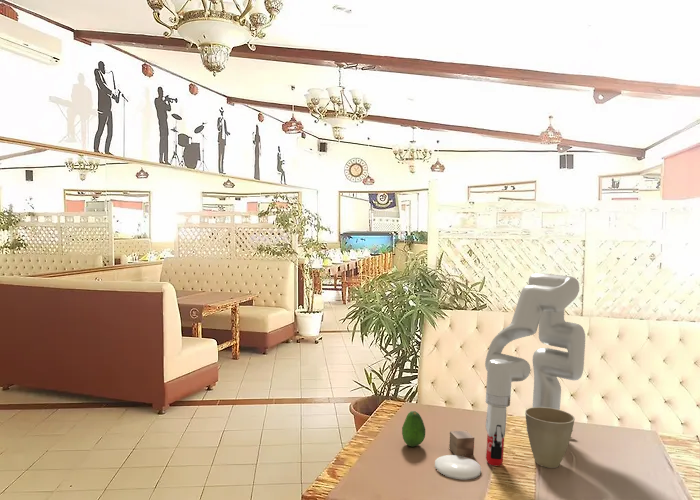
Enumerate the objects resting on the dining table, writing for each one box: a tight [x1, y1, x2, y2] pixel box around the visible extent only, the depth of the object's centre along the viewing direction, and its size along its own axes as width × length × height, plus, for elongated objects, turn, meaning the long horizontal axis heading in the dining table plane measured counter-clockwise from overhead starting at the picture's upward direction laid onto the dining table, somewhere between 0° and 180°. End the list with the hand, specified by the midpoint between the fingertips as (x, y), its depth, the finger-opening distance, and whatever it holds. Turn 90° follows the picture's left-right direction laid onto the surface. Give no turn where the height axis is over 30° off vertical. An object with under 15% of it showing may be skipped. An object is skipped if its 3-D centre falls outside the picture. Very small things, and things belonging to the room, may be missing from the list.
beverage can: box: [485, 433, 505, 467], centre depth 170 cm, size 5×5×12 cm
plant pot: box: [524, 406, 576, 469], centre depth 172 cm, size 15×15×16 cm
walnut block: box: [448, 430, 475, 457], centre depth 178 cm, size 6×6×6 cm
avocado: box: [401, 410, 426, 447], centre depth 181 cm, size 8×8×12 cm
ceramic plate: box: [434, 454, 482, 481], centre depth 165 cm, size 14×14×1 cm
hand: (494, 454), depth 170 cm, fingers closed on beverage can, 5 cm apart
